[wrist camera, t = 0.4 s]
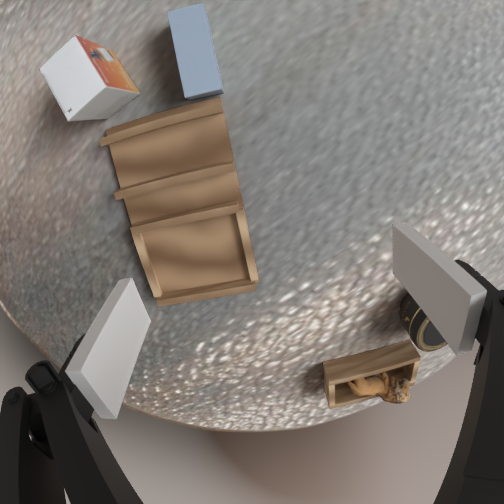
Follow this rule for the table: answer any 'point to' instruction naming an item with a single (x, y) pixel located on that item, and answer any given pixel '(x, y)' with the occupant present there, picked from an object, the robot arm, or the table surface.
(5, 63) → the table surface
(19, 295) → the table surface
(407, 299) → the jar
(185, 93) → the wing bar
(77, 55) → the small box
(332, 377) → the open wooden box
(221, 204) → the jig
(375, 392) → the lion figurine
